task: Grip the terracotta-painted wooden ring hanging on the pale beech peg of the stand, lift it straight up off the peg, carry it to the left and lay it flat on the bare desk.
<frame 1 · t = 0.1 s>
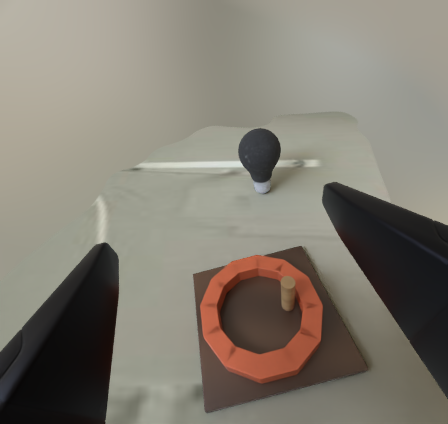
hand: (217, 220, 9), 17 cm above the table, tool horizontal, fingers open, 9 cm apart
peg stand: (263, 314, 22), on the table
ring: (259, 312, 22), point 1 cm above the table, touching peg stand
light bulb: (263, 192, 36), on the table
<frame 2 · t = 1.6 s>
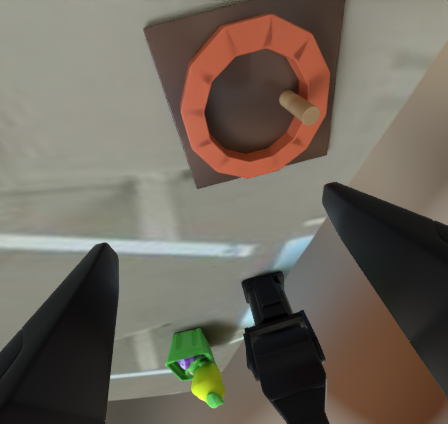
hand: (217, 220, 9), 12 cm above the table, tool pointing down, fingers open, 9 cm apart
peg stand: (253, 104, 19), on the table
ring: (251, 107, 18), point 1 cm above the table, touching peg stand
fruit basket: (195, 337, 46), on the table
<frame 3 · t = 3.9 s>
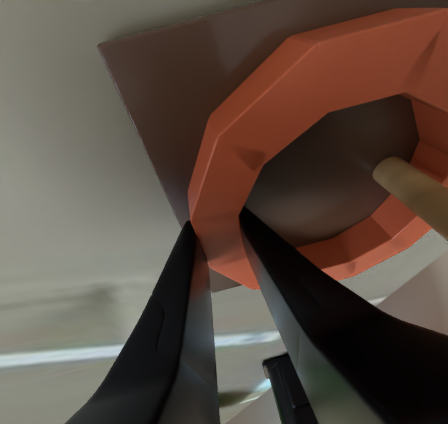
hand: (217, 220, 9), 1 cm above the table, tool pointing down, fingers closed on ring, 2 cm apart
peg stand: (321, 176, 10), on the table
ring: (321, 185, 10), point 1 cm above the table, touching gripper, peg stand
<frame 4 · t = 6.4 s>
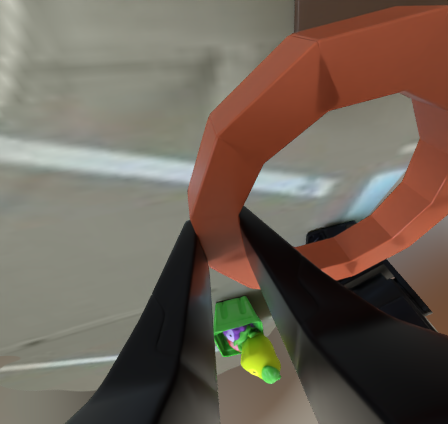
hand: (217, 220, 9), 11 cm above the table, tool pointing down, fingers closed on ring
ring: (321, 184, 10), point 11 cm above the table, touching gripper
fruit basket: (237, 308, 40), on the table
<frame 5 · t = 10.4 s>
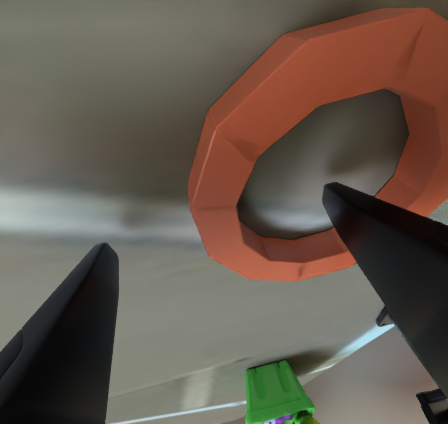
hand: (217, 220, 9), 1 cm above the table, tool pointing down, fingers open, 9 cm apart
ring: (316, 178, 10), on the table
fruit basket: (270, 370, 31), on the table
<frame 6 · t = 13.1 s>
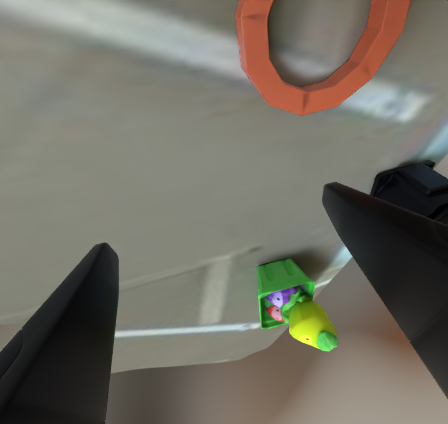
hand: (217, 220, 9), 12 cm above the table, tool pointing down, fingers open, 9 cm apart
ring: (315, 22, 15), on the table
fruit basket: (277, 275, 37), on the table
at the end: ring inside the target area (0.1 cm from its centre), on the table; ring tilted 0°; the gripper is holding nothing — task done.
